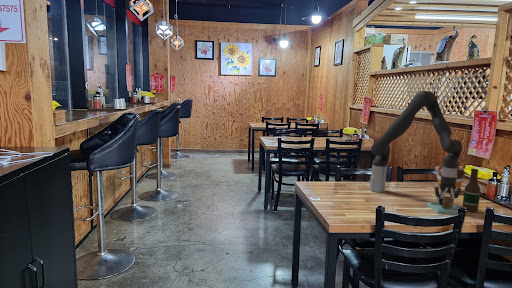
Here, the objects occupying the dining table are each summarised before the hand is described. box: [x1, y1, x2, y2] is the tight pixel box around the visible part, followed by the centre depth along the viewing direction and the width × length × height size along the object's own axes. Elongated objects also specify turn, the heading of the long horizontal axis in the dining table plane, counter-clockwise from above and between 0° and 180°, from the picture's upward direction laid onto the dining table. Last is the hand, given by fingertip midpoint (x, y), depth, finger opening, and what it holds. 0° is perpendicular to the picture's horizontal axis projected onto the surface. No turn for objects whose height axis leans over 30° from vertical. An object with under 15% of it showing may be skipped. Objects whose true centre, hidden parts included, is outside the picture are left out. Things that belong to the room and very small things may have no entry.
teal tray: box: [426, 201, 460, 215], centre depth 196 cm, size 14×14×2 cm
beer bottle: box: [461, 168, 481, 214], centre depth 194 cm, size 8×8×24 cm
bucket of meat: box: [434, 160, 467, 193], centre depth 236 cm, size 20×16×20 cm
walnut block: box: [439, 195, 454, 208], centre depth 195 cm, size 5×5×5 cm
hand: (445, 204), depth 196 cm, fingers closed on walnut block, 4 cm apart
